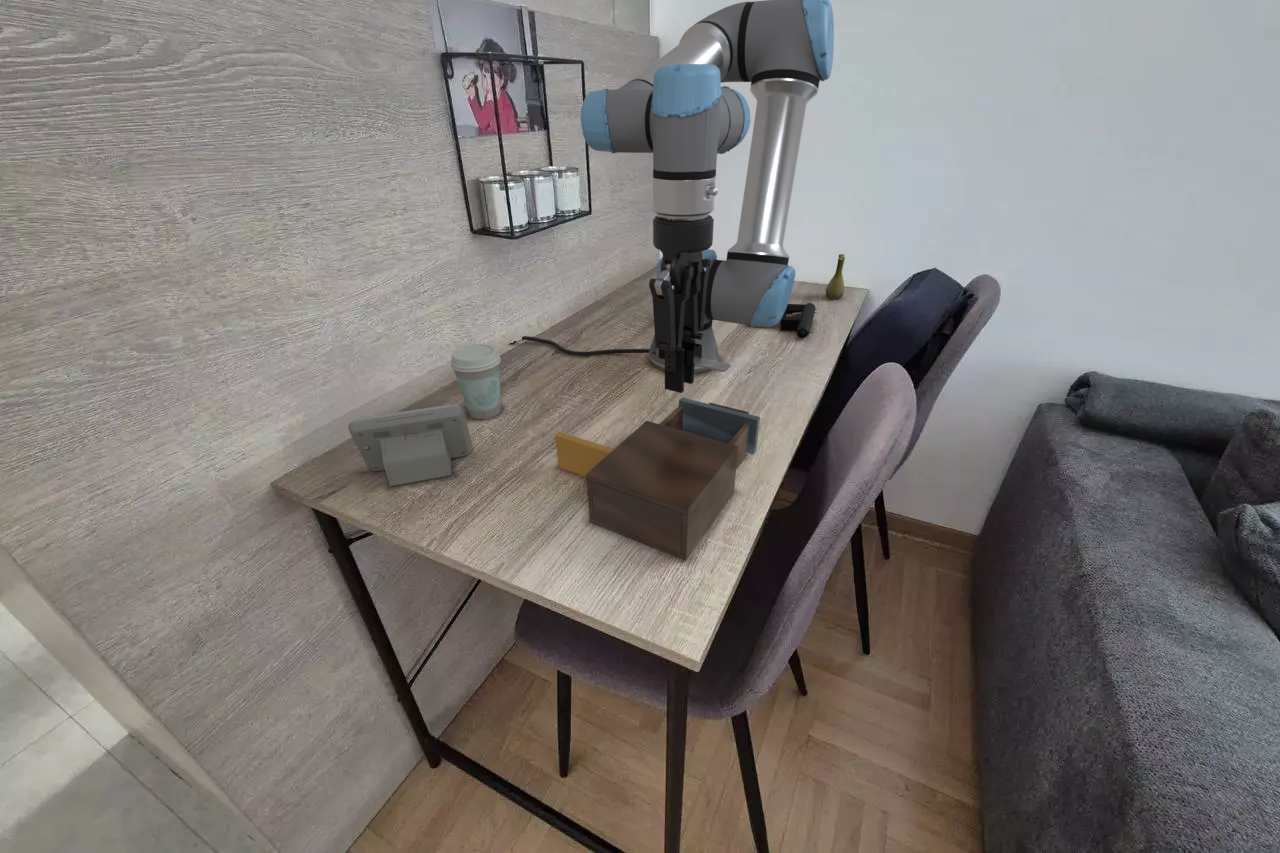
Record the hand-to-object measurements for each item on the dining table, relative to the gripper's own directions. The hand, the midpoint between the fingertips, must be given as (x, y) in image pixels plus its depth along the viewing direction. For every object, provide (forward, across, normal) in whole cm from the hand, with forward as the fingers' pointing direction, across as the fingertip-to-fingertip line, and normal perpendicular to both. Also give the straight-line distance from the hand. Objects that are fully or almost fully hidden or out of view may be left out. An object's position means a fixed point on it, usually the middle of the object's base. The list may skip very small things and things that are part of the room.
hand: (679, 385), depth 79 cm
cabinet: (+14, -11, -4) cm, 18 cm away
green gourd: (+14, +94, -1) cm, 95 cm away
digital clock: (+14, -21, +34) cm, 43 cm away
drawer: (+13, +3, -3) cm, 13 cm away
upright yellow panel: (+14, -10, +10) cm, 20 cm away
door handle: (+14, +67, +5) cm, 69 cm away
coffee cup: (+14, -3, +38) cm, 41 cm away
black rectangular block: (-4, 0, -2) cm, 5 cm away
